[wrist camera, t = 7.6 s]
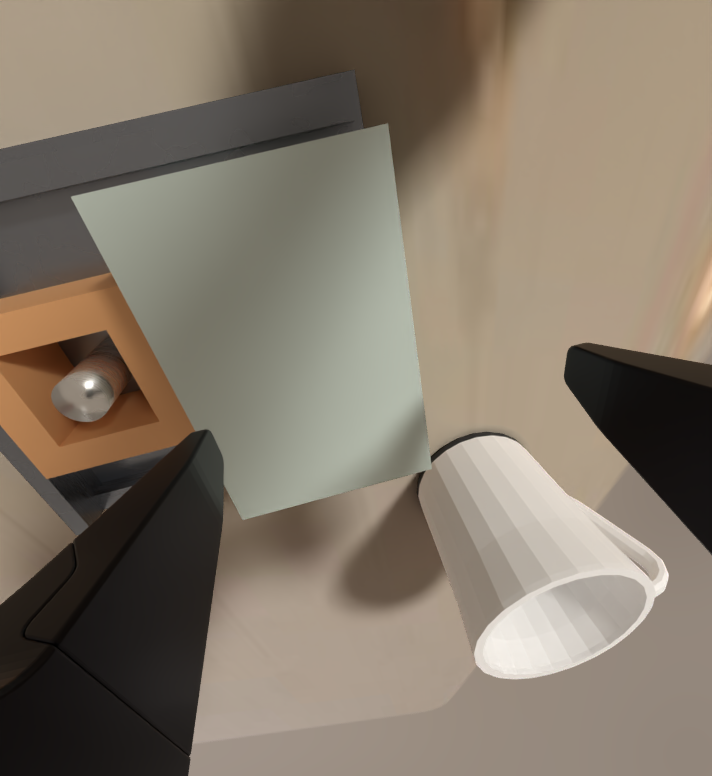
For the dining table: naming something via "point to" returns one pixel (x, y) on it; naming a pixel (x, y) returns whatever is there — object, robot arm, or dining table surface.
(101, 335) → the housing base
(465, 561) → the mug
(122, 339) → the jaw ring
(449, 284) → the dining table surface
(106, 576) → the robot arm
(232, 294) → the housing cover
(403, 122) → the dining table surface
